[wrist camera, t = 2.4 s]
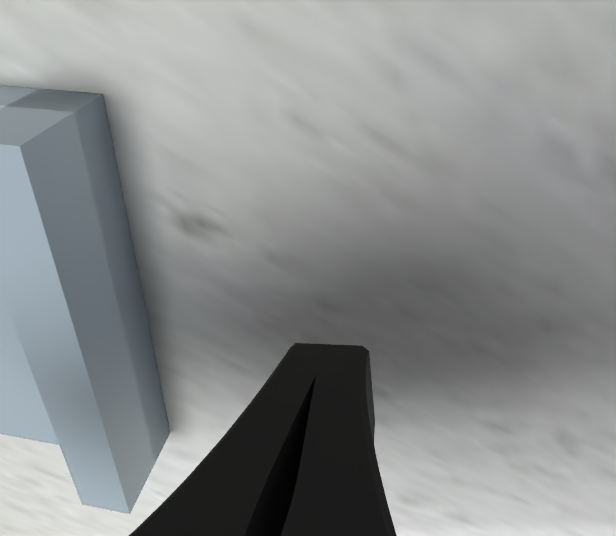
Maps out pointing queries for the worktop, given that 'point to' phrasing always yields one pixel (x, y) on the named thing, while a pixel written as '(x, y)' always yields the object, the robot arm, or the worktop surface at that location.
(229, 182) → the worktop surface
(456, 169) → the worktop surface
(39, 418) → the light blue lipped plate
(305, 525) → the robot arm
